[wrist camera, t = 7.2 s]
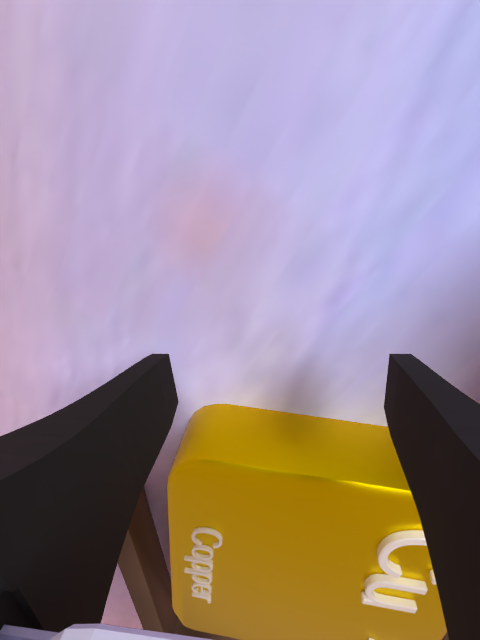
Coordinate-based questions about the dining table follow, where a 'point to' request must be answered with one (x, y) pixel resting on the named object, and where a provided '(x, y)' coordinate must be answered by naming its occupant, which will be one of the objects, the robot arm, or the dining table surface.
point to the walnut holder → (153, 577)
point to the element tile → (296, 531)
